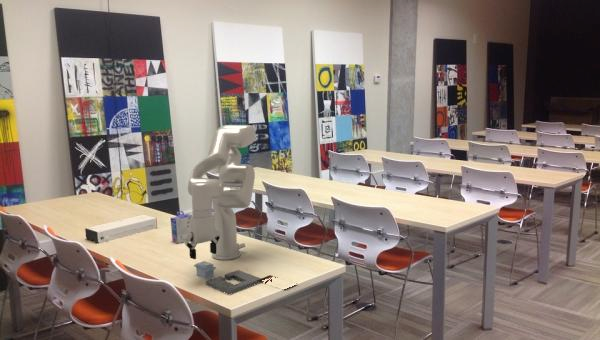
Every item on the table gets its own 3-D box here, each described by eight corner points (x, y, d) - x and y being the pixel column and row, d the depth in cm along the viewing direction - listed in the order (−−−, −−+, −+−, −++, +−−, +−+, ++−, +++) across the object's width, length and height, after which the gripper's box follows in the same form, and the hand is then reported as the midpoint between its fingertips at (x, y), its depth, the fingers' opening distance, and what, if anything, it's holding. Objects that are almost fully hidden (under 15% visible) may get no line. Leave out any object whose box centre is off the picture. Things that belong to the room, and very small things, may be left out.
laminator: (145, 225, 284) (144, 214, 283) (158, 229, 276) (157, 217, 275) (86, 240, 258) (85, 228, 257) (99, 244, 250) (98, 232, 249)
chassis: (238, 273, 209) (238, 269, 209) (261, 282, 200) (261, 278, 199) (205, 284, 198) (205, 281, 197) (229, 294, 188) (228, 290, 188)
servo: (202, 271, 212) (202, 258, 211) (216, 277, 205) (215, 263, 205) (194, 274, 209) (193, 261, 208) (207, 280, 203) (207, 266, 202)
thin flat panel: (269, 275, 206) (298, 284, 196) (269, 276, 206) (298, 285, 197) (256, 280, 201) (285, 290, 191) (256, 282, 201) (285, 291, 191)
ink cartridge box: (188, 237, 260) (186, 209, 257) (194, 239, 256) (193, 210, 253) (171, 241, 252) (169, 212, 250) (177, 243, 249) (176, 214, 246)
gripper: (214, 208, 211) (215, 249, 213) (177, 215, 199) (179, 258, 201) (225, 211, 206) (226, 253, 208) (189, 218, 194) (190, 262, 196)
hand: (203, 255), depth 205 cm, fingers open, 9 cm apart
